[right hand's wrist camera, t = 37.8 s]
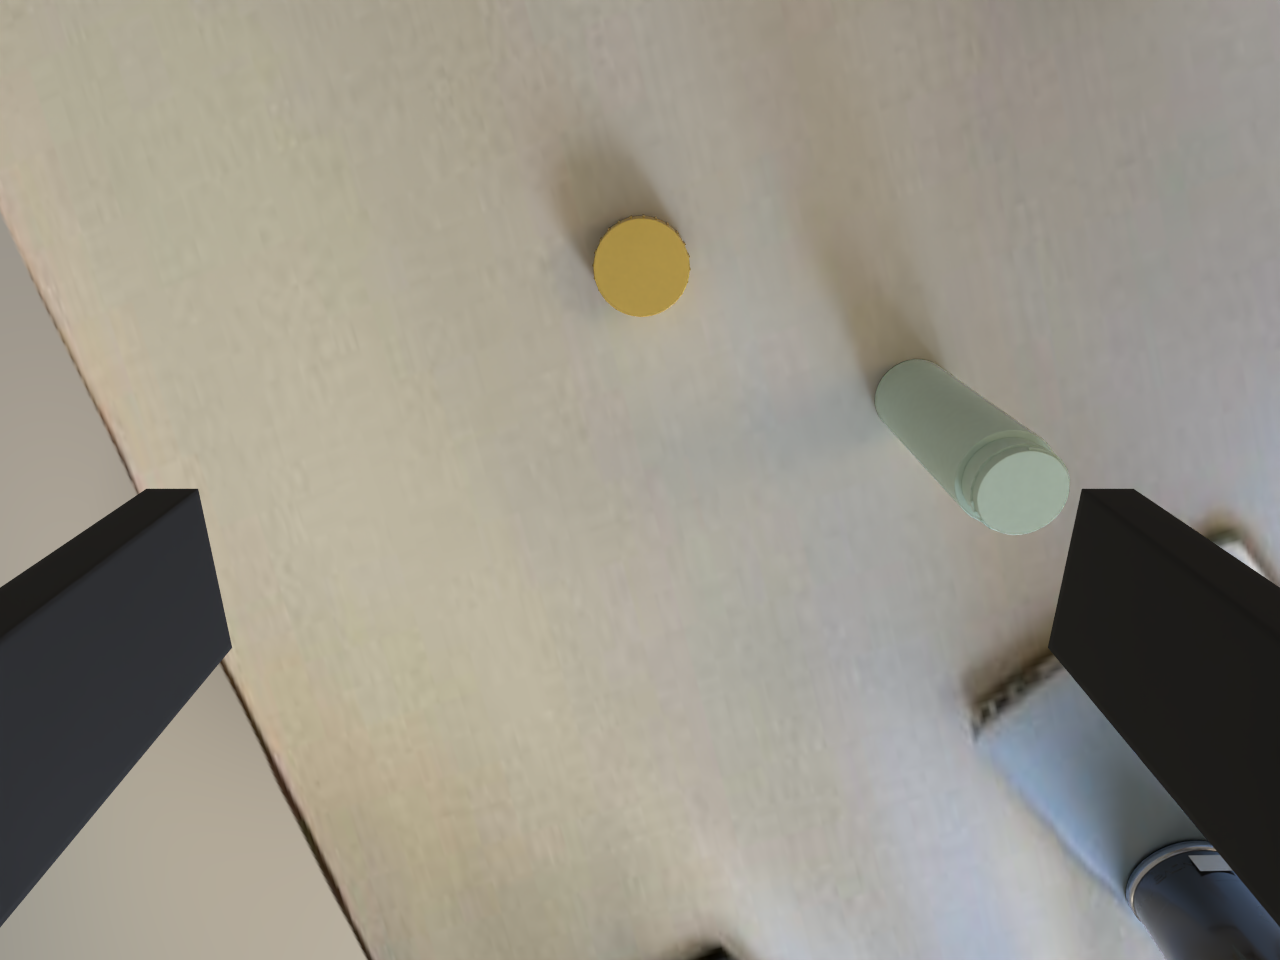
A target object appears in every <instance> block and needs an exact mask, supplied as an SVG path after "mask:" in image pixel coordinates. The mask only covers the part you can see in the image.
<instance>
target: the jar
mask: <svg viewBox="0 0 1280 960" xmlns="http://www.w3.org/2000/svg"><path fill="white" fill-rule="evenodd" d="M875 407H876V411H877V413H878V416H879V417H880V419H881V420H882V421H883V423H884V424H885V425H886V426H887V427H888V428H889V429H890V430H891V431H892V432H893V434H894V435H895V436H896V437H897V438H898V439H899V440H900V441H901V442H902V443H903V445H904V446H905V447H906V448H907V449H908V450H909V451H910V452H911V453H912V454H913V455H914V457H915V458H916V459H917V460H918V461H919V462H920V463H921V464H922V465H923V466H924V468H925V469H926V470H927V471H928V472H929V473H930V474H931V475H932V476H933V477H934V479H935V480H936V481H937V482H938V483H939V484H940V485H941V486H942V487H943V488H944V490H945V491H946V492H947V493H948V494H949V495H950V496H951V497H952V498H953V499H954V500H955V502H956V503H957V504H958V505H959V506H960V507H961V508H962V509H963V510H964V511H965V512H966V513H967V514H968V515H969V516H971V517H972V518H974V519H976V520H978V521H980V522H982V523H983V524H984V525H986V526H987V527H988V528H990V529H992V530H995V531H998V532H1000V533H1004V534H1009V535H1022V534H1028V533H1031V532H1034V531H1037V530H1039V529H1041V528H1043V527H1044V526H1046V525H1047V524H1049V523H1050V522H1051V521H1052V520H1054V519H1055V518H1056V516H1057V515H1058V514H1059V513H1060V512H1061V510H1062V509H1063V507H1064V505H1065V503H1066V501H1067V498H1068V494H1069V483H1070V478H1069V474H1068V471H1067V470H1068V469H1067V468H1066V466H1065V465H1064V463H1063V462H1062V460H1061V459H1060V458H1059V457H1057V456H1056V455H1055V454H1054V453H1053V452H1052V450H1051V448H1050V447H1049V445H1048V444H1047V443H1046V442H1045V441H1044V440H1043V439H1042V438H1040V437H1039V436H1038V435H1036V434H1035V433H1033V432H1032V431H1030V430H1029V429H1028V428H1026V427H1025V426H1023V425H1022V424H1020V423H1019V422H1018V421H1016V420H1015V419H1013V418H1012V417H1011V416H1009V415H1008V414H1006V413H1005V412H1003V411H1002V410H1001V409H999V408H998V407H996V406H995V405H994V404H992V403H991V402H989V401H988V400H986V399H985V398H984V397H982V396H981V395H979V394H978V393H976V392H975V391H974V390H972V389H971V388H969V387H968V386H967V385H965V384H964V383H962V382H961V381H959V380H958V379H957V378H955V377H954V376H952V375H951V374H950V373H948V372H947V371H945V370H944V369H942V368H941V367H940V366H938V365H937V364H935V363H933V362H931V361H928V360H922V359H914V360H908V361H905V362H902V363H900V364H898V365H896V366H894V367H893V368H892V369H890V370H889V371H888V372H887V373H886V374H885V375H884V377H883V378H882V379H881V381H880V383H879V385H878V387H877V390H876V395H875Z"/></svg>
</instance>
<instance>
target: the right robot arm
mask: <svg viewBox="0 0 1280 960" xmlns="http://www.w3.org/2000/svg"><path fill="white" fill-rule="evenodd" d="M231 648H232V645H231V641H230V636H229V631H228V627H227V622H226V617H225V613H224V608H223V603H222V599H221V594H220V589H219V585H218V580H217V575H216V571H215V566H214V561H213V557H212V552H211V547H210V542H209V538H208V533H207V528H206V524H205V519H204V514H203V510H202V505H201V500H200V496H199V491H198V489H146V490H144V491H143V492H141V493H140V494H138V495H137V496H135V497H134V498H132V499H131V500H129V501H128V502H126V503H125V504H123V505H122V506H120V507H119V508H118V509H116V510H114V511H113V512H112V513H110V514H109V515H107V516H106V517H104V518H103V519H101V520H100V521H98V522H97V523H95V524H94V525H92V526H91V527H89V528H88V529H86V530H85V531H83V532H82V533H81V534H79V535H78V536H76V537H75V538H73V539H72V540H70V541H69V542H67V543H66V544H64V545H63V546H61V547H60V548H58V549H57V550H55V551H54V552H52V553H51V554H50V555H48V556H46V557H45V558H44V559H42V560H41V561H39V562H38V563H36V564H35V565H33V566H32V567H30V568H29V569H27V570H26V571H24V572H23V573H21V574H20V575H18V576H17V577H15V578H14V579H12V580H11V581H9V582H8V583H6V584H5V585H4V586H2V587H1V588H0V927H1V926H2V924H3V923H4V922H5V921H6V920H7V918H8V917H9V916H10V915H11V914H12V912H13V911H14V910H15V909H16V908H17V906H18V905H19V904H20V903H21V902H22V900H23V899H24V898H25V897H26V896H27V894H28V893H29V892H30V891H31V890H32V888H33V887H34V886H35V885H36V883H37V882H38V881H39V880H40V879H41V877H42V876H43V875H44V874H45V873H46V871H47V870H48V869H49V868H50V867H51V865H52V864H53V863H54V862H55V861H56V859H57V858H58V857H59V856H60V855H61V853H62V852H63V851H64V850H65V848H66V847H67V846H68V845H69V844H70V842H71V841H72V840H73V839H74V838H75V836H76V835H77V834H78V833H79V832H80V830H81V829H82V828H83V827H84V826H85V824H86V823H87V822H88V821H89V819H90V818H91V817H92V816H93V815H94V813H95V812H96V811H97V810H98V809H99V807H100V806H101V805H102V804H103V803H104V801H105V800H106V799H107V798H108V797H109V795H110V794H111V793H112V792H113V791H114V789H115V788H116V787H117V786H118V785H119V783H120V782H121V781H122V780H123V778H124V777H125V776H126V775H127V774H128V772H129V771H130V770H131V769H132V768H133V766H134V765H135V764H136V763H137V762H138V760H139V759H140V758H141V757H142V756H143V754H144V753H145V752H146V751H147V750H148V748H149V747H150V746H151V745H152V743H153V742H154V741H155V740H156V739H157V737H158V736H159V735H160V734H161V733H162V731H163V730H164V729H165V728H166V727H167V725H168V724H169V723H170V722H171V721H172V719H173V718H174V717H175V716H176V715H177V713H178V712H179V711H180V710H181V708H182V707H183V706H184V705H185V704H186V703H187V701H188V700H189V699H190V698H191V696H192V695H193V694H194V693H195V692H196V690H197V689H198V688H199V687H200V686H201V684H202V683H203V682H204V681H205V680H206V678H207V677H208V676H209V675H210V674H211V672H212V671H213V670H214V669H215V667H216V666H217V665H218V664H219V663H220V661H221V660H222V659H223V658H224V657H225V655H226V654H227V653H228V652H229V651H230V649H231ZM1048 648H1049V649H1050V651H1051V652H1052V653H1053V654H1054V655H1055V657H1056V658H1057V659H1058V660H1059V661H1060V663H1061V664H1062V665H1063V666H1064V668H1065V669H1066V670H1067V671H1068V672H1069V674H1070V675H1071V676H1072V677H1073V678H1074V680H1075V681H1076V682H1077V683H1078V684H1079V686H1080V687H1081V688H1082V689H1083V690H1084V692H1085V693H1086V694H1087V695H1088V696H1089V698H1090V699H1091V700H1092V701H1093V703H1094V704H1095V705H1096V706H1097V707H1098V709H1099V710H1100V711H1101V712H1102V713H1103V715H1104V716H1105V717H1106V718H1107V719H1108V721H1109V722H1110V723H1111V724H1112V725H1113V727H1114V728H1115V729H1116V730H1117V731H1118V733H1119V734H1120V735H1121V736H1122V737H1123V739H1124V740H1125V741H1126V742H1127V744H1128V745H1129V746H1130V747H1131V748H1132V750H1133V751H1134V752H1135V753H1136V754H1137V756H1138V757H1139V758H1140V759H1141V760H1142V762H1143V763H1144V764H1145V765H1146V766H1147V768H1148V769H1149V770H1150V771H1151V772H1152V774H1153V775H1154V776H1155V777H1156V779H1157V780H1158V781H1159V782H1160V783H1161V785H1162V786H1163V787H1164V788H1165V789H1166V791H1167V792H1168V793H1169V794H1170V795H1171V797H1172V798H1173V799H1174V800H1175V801H1176V803H1177V804H1178V805H1179V806H1180V807H1181V809H1182V810H1183V811H1184V812H1185V813H1186V815H1187V816H1188V817H1189V818H1190V820H1191V821H1192V822H1193V823H1194V824H1195V826H1196V827H1197V828H1198V829H1199V830H1200V832H1201V833H1202V834H1203V835H1204V836H1205V838H1206V839H1207V840H1208V841H1209V842H1210V844H1211V845H1212V846H1213V847H1214V848H1215V850H1216V851H1217V852H1218V853H1219V855H1220V856H1221V857H1222V858H1223V859H1224V861H1225V862H1226V863H1227V864H1228V865H1229V867H1230V868H1231V869H1232V870H1233V871H1234V873H1235V874H1236V875H1237V876H1238V877H1239V879H1240V880H1241V881H1242V882H1243V883H1244V885H1245V886H1246V887H1247V888H1248V890H1249V891H1250V892H1251V893H1252V894H1253V896H1254V897H1255V898H1256V899H1257V900H1258V902H1259V903H1260V904H1261V905H1262V906H1263V908H1264V909H1265V910H1266V911H1267V912H1268V914H1269V915H1270V916H1271V917H1272V918H1273V920H1274V921H1275V922H1276V923H1277V924H1278V926H1279V927H1280V588H1279V587H1278V586H1276V585H1275V584H1274V583H1272V582H1271V581H1269V580H1268V579H1266V578H1265V577H1263V576H1262V575H1260V574H1259V573H1257V572H1256V571H1254V570H1253V569H1251V568H1250V567H1248V566H1247V565H1245V564H1244V563H1242V562H1241V561H1239V560H1238V559H1237V558H1235V557H1234V556H1232V555H1231V554H1229V553H1228V552H1226V551H1225V550H1223V549H1222V548H1220V547H1219V546H1217V545H1216V544H1214V543H1213V542H1211V541H1210V540H1208V539H1207V538H1205V537H1204V536H1202V535H1201V534H1200V533H1198V532H1197V531H1195V530H1194V529H1192V528H1191V527H1189V526H1188V525H1186V524H1185V523H1183V522H1182V521H1180V520H1179V519H1177V518H1176V517H1174V516H1173V515H1171V514H1170V513H1168V512H1167V511H1166V510H1164V509H1163V508H1161V507H1160V506H1158V505H1157V504H1155V503H1154V502H1152V501H1151V500H1149V499H1148V498H1146V497H1145V496H1143V495H1142V494H1140V493H1139V492H1137V491H1136V490H1134V489H1082V491H1081V496H1080V500H1079V505H1078V510H1077V514H1076V519H1075V524H1074V528H1073V533H1072V538H1071V542H1070V547H1069V552H1068V557H1067V561H1066V566H1065V571H1064V575H1063V580H1062V585H1061V589H1060V594H1059V599H1058V603H1057V608H1056V613H1055V617H1054V622H1053V627H1052V631H1051V636H1050V641H1049V645H1048Z"/></svg>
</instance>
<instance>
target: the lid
mask: <svg viewBox="0 0 1280 960" xmlns="http://www.w3.org/2000/svg"><path fill="white" fill-rule="evenodd" d="M678 234H679V233H678V231H677V230H676V231H675V230H674V229H673V228H672V227H671V226H670V225H669V224H668V222H666V223H665V222H664V221H662V220H660V219H657V217H656V216H655V218H654V217H650V216H644V214H643V216H633V217H632V215H631V216H630V217H629V218H626V219H624V220H621V221H620V220H618V223H616V224H615V225H614V226H612V227H611V228H610V227H609V228H608V230H607V232H606V233H605V235H604V236H603V238H602V237H601V238H600V244H599V246H598V248H597V249H596V250H595V252H594V254H595V258H594V263H593V267H594V279H595V281H596V284H597V287H598V290H599V291H600V293H601V294H602V296H603V297H604V299H605V300H606V302H608V303H609V304H610V305H611V306H612V307H614V308H615V309H616V310H618V311H620V312H622V313H625V314H627V315H631V316H638V317H646V316H652V315H656V314H659V313H661V312H663V311H665V310H666V309H668V308H669V307H671V306H672V305H673V304H675V302H676V301H677V300H678V299H679V298H680V296H681V295H682V294H683V291H684V290H685V287H686V285H687V283H688V278H689V271H690V270H691V269H690V264H689V257H690V256H689V254H688V253H687V250H686V248H685V245H686V244H685V242H684V241H682V239H681V238H680V236H679V235H678Z"/></svg>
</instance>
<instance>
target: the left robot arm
mask: <svg viewBox="0 0 1280 960" xmlns="http://www.w3.org/2000/svg"><path fill="white" fill-rule="evenodd" d="M1126 898H1127V901H1128V904H1129V906H1130V908H1131V909H1132V911H1133V912H1134V914H1135V915H1136V917H1137V918H1138V919H1139V920H1140V921H1141V922H1142V924H1143V925H1144V927H1145V928H1146V930H1147V931H1148V933H1149V934H1150V936H1151V937H1152V939H1153V941H1154V942H1155V944H1156V945H1157V947H1158V949H1159V950H1160V952H1161V953H1162V955H1163V956H1164V958H1165V959H1166V960H1280V927H1279V926H1278V924H1277V923H1276V922H1275V921H1274V920H1273V918H1272V917H1271V916H1270V915H1269V914H1268V912H1267V911H1266V910H1265V909H1264V908H1263V906H1262V905H1261V904H1260V903H1259V902H1258V900H1257V899H1256V898H1255V897H1254V896H1253V894H1252V893H1251V892H1250V891H1249V890H1248V888H1247V887H1246V886H1245V885H1244V883H1243V882H1242V881H1241V880H1240V879H1239V877H1238V876H1237V875H1236V874H1235V873H1234V871H1233V870H1232V869H1231V868H1230V867H1229V865H1228V864H1227V863H1226V862H1225V861H1224V859H1223V858H1222V857H1221V856H1220V855H1219V853H1218V852H1217V851H1216V850H1215V848H1214V847H1213V846H1212V845H1211V844H1210V842H1208V841H1186V842H1180V843H1176V844H1173V845H1170V846H1167V847H1165V848H1162V849H1160V850H1158V851H1156V852H1155V853H1153V854H1151V855H1150V856H1148V857H1147V858H1146V859H1144V860H1143V861H1142V862H1141V863H1140V864H1139V865H1138V866H1137V867H1136V869H1135V870H1134V871H1133V873H1132V874H1131V876H1130V878H1129V880H1128V883H1127V887H1126Z"/></svg>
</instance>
